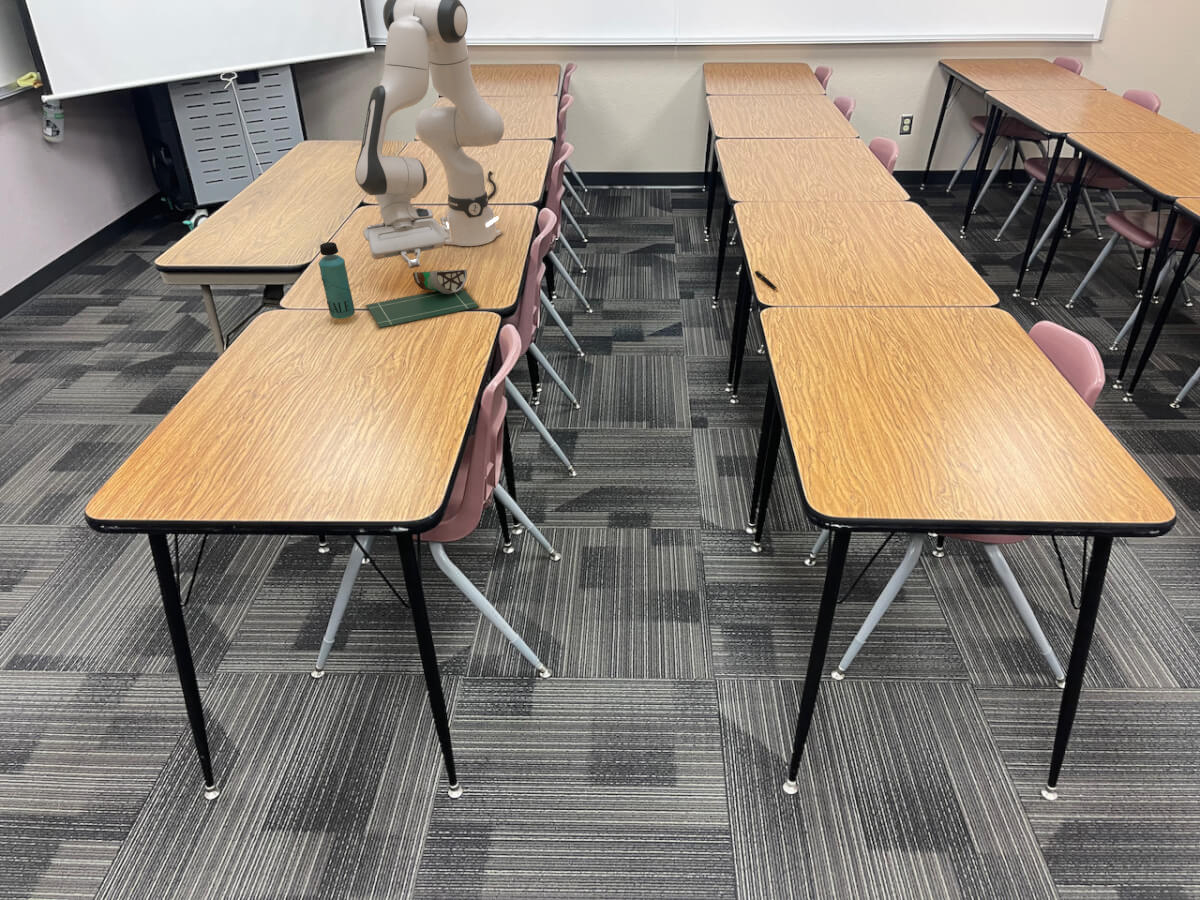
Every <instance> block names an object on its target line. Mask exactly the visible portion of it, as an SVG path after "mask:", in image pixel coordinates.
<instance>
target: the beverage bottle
mask: <svg viewBox="0 0 1200 900" xmlns="http://www.w3.org/2000/svg"><path fill="white" fill-rule="evenodd" d="M319 249H320V255H322V258H320V260H319V261H318V266H319V270H320V272H319V273H320V275H321V277H320V278H321V282H322V286H323V288H324V289H323V290H324V295H325V299H326V304H327V305H326V306H327V308H328V314H329V315H330V317H331V318H333V319H336V320H337V319H338V320H342V319H347V318H350V317H353V316H354V315H355V313H356V310H355V309H356V308H355V305H354V299H353V295H352V289H351V287H350V281H349V276H348V271H347V266H346V260H345V259H344V258H343V257H342V256H341V255H339V254H338V253H339V248H338V246H337V243H336V242H332V241H328V242H324V243H321V244H320V245H319Z"/></svg>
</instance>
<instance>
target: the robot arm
mask: <svg viewBox="0 0 1200 900" xmlns="http://www.w3.org/2000/svg"><path fill="white" fill-rule="evenodd" d="M382 9H383V10H382V18H383V23H384V27H385V29H386V31H387V38H386V43H385V49H384V51H385V52H384V69H383V74H382V78H381V80H380V83H379V84H378V85H377V86H375V87H374V88H373V89H372V91H371V93H370V97H369V100H368V105H367V110H366V115H365V122H364V129H363V133H362V139H361V147H360V151H359V155H358V159H357V161H356V164H355V172H354V173H355V175H354V176H355V181H356V183H357V185H358V186H359V187H360V188H361V189H362V191H364V192H365V194H367V195H369V196H374V198H375V201H376V203H377V205H378V206H379V209H380V210H379V213H380V217H381V220H382V222H381V223H376V224H369V225H367V226H366V227H365V228H364V229H363V232H362V233H363V237H364V240H366V241H367V243H368V249H369V253H370V257H371V258H372V259H374V261H375V260H377V261H378V260H382V259H389V258H393V257H398V256H400V258H401V260H402V261H404V263H406V264H407V267H408V269H416V268H420V267H421V261H420V256H421V252H426V251H432V250H438V249H443V248H444V246H445V245H452V246H453V245H454V246H458V247H459V246H460V247H477V246H483V245H486V244H488V243H491V242H493V241H494V240H496V238H497V237H499V236H500V235H502V231H501V230H500V229H499V228H497V226H496V221H498V220H499V216H496V217H495V212H494V209H493V208H492V207H491V206H489V199H490V198H491V197H492V196H494V194H495V193H496V190H497V185H496V183H495V182H494V181H493V180H492V178H491V175H493V172H492V171H491V170H490V171H488V174H487V178H488V181H489V182H490V183H492V186H493V190H492V191H491V193H490V194H489V195H488V192H487V191H486V183H485V174H484V173H485V172H484V168H483V167H482V165H481V163H480V162H479V161H478V160H477V159H474V158H472V157H470V156H469V155H468V154H467V153H466V152H465V151H464V150H463V148H483V147H484V148H485V147H491V146H494V145H495V146H496V145H498V144H499V143H500V142H501V140H502V139H503V136H504V132H505V123H504V120H503V116H502V115H501V114H500V112H499V111H498V110H497V109H495V108H494V107H493V106H491V105H490V104H489V103H487V102H486V100H485V99H484V98H483V97H482V96H481V94H480V93H479V90H478V89H477V87H476V84H475V82H474V77H473V73H472V69H471V62H470V57H469V56H470V55H469V50H468V45H467V41H466V36H465V35H466V33H467V29H468V20H469V19H468V13H467V10H466V8H465V6H464V4H463V3H462V2H461V0H386V1H385V3H384V6H383V8H382ZM430 77H431V82H432V86H433V88H434V90H435V91H436V92H437V93H438V94H439V95H440V96H442V97H443V98H445V99H447V100H449V101H450V102H452V104H453V105H454V106H433V107H428V108H424V109H421V110H420V111H419V112H418V114H417V115H416V119H415V132H416V134H417V135H416V136H418V138H419V140H420V141H421V142H422V143H423V144H424V145H425V146H427V147H428V148H429V149H430V150H432V151H433V152H434V154H435V155H436V156H437V157H438V159H439V161H440V163H441V164H442V166H443V169H444V172H445V173H444V174H445V177H446V182H447V190H448V194H447V206H448V207H447V208H446V210H445V211H444V215H443V216H441V217H440V219H439V220H440V223H439V222H438V221H437V220H436V219H435V218H434V214H433V210H432V209H430V208H422V207H416V206H413V205H412V202H411V200H412V199H415V198H416V197H417V196H419V195H420V193H421V192H423V190H424V189H425V188H426V186H427V184H428V175H427V171H426V169H425V166H424V164H423V163H422V161H421V160H420V159H419V158H417V157H412V156H403V155H398V156H397V155H385V154H383V147H384V141H385V137H386V136H385V135H386V129H387V123H388V121H389V119H390V118H391V117H392V116H393V115H394V114H395V113H397V112H399V111H401V110H404V109H408V108H412V107H413V106H415V105H417V104H418V103H420V102H421V101H423V99H424V98H425V97H426V95H427V93H428V90H429V85H430ZM440 224H441V225H440ZM410 254H414V257H415V258H414V259H410V258H409V257H408V255H410Z"/></svg>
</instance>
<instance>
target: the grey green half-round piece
mask: <svg viewBox="0 0 1200 900" xmlns="http://www.w3.org/2000/svg"><path fill="white" fill-rule="evenodd" d="M412 276H413V279H414V282H415V284H416V285H417V286H418V287H419V289H422V291H423V290H424V291H428V292H433V291H440V292H441V293H443V294H452V293H455V292H457V291H459V290H460V289H461V288H463V287H464V286H465V283H466V281H467V277H468V269H449V270H447V269H446V270H431V271H417V272H412Z"/></svg>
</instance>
